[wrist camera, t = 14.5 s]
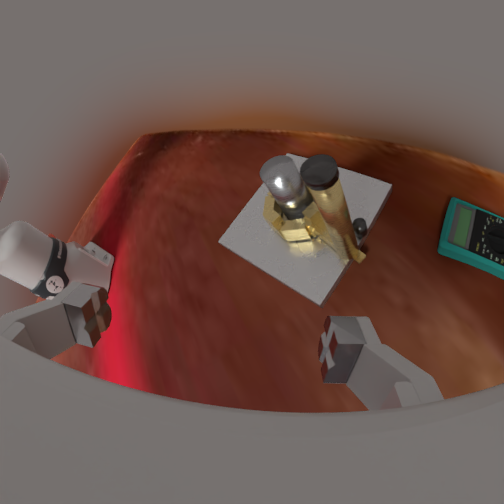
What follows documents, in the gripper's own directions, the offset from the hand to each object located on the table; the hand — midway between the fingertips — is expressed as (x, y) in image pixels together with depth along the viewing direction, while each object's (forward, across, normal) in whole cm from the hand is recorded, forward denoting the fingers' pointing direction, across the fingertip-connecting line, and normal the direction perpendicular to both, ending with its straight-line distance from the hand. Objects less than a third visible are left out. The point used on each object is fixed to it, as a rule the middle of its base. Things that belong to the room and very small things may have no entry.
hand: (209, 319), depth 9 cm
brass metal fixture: (+25, +8, -3) cm, 27 cm away
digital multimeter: (+16, +29, 0) cm, 33 cm away
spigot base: (+28, +7, -3) cm, 29 cm away
